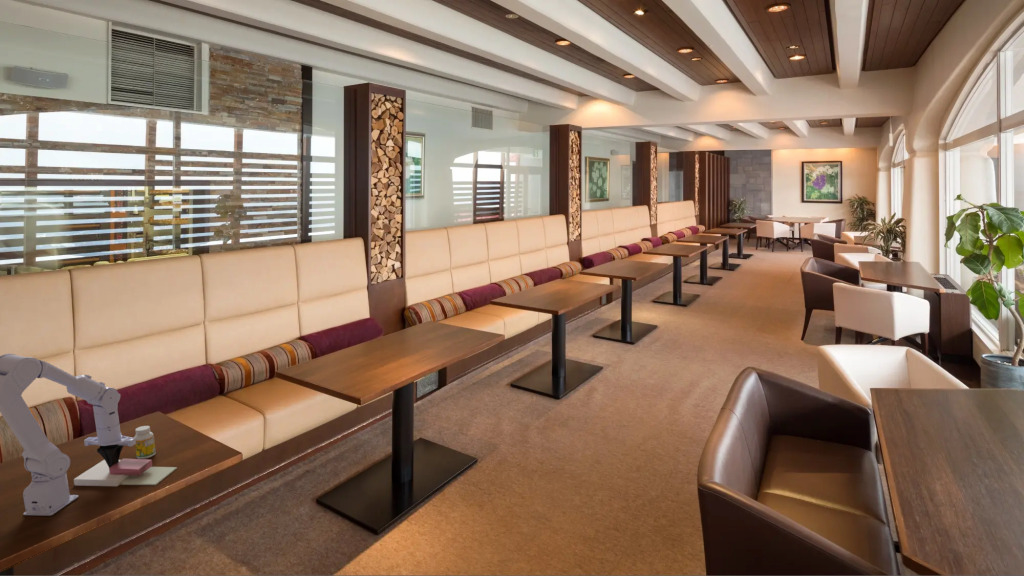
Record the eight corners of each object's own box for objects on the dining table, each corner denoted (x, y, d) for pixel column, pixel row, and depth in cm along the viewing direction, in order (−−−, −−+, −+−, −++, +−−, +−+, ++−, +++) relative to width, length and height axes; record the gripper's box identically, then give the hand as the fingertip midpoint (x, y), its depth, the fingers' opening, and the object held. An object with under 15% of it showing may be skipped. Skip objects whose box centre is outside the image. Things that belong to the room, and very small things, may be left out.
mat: (155, 485, 166) (155, 484, 166) (120, 484, 166) (120, 483, 166) (176, 468, 176) (176, 467, 176) (143, 467, 176) (143, 466, 176)
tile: (139, 475, 168) (138, 469, 168) (109, 474, 168) (109, 468, 168) (152, 465, 174) (151, 459, 173) (124, 464, 174) (123, 458, 174)
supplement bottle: (159, 454, 185) (155, 426, 184) (142, 460, 181) (138, 433, 179) (150, 450, 188) (146, 423, 186) (133, 457, 183) (129, 429, 182)
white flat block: (117, 486, 166) (116, 480, 165) (74, 485, 166) (73, 479, 166) (144, 466, 177) (144, 460, 177) (105, 465, 178) (104, 459, 177)
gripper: (140, 420, 172) (145, 460, 175) (94, 419, 173) (100, 460, 175) (123, 429, 165) (129, 472, 168) (76, 429, 166) (82, 471, 168)
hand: (113, 467), depth 171 cm, fingers closed
